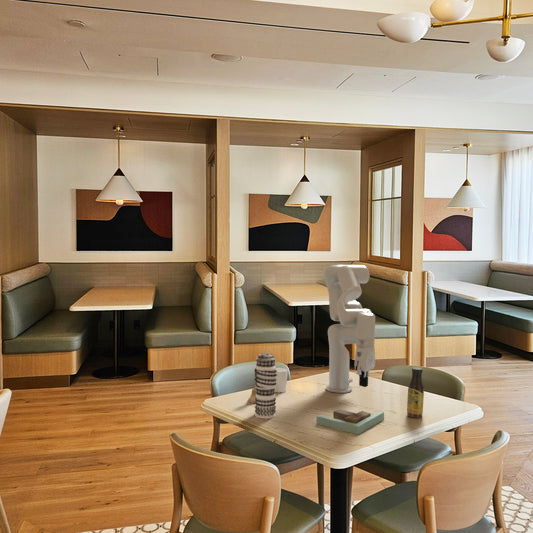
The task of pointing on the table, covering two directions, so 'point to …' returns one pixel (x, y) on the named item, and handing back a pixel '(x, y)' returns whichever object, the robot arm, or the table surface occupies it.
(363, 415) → the t block
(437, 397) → the table surface
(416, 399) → the sauce bottle
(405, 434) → the table surface
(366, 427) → the corner fence
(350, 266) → the robot arm
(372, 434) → the table surface
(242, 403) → the table surface
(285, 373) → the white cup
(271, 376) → the patterned stacked cylinder
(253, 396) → the hand bell
